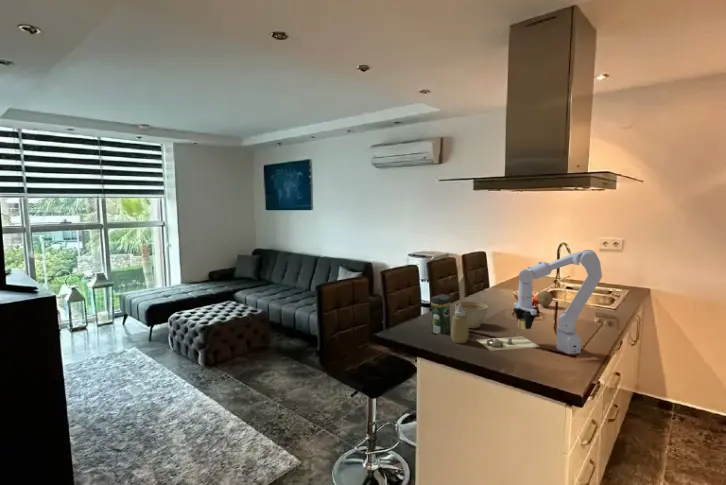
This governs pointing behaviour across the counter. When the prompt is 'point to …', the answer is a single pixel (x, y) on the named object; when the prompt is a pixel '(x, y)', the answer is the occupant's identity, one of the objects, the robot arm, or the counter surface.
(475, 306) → the planter bowl
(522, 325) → the brass gear
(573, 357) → the counter surface
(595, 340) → the counter surface
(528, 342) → the gear board
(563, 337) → the robot arm
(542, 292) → the natural sponge
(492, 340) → the drive gear
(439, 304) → the coffee jar
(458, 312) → the squeeze bottle
